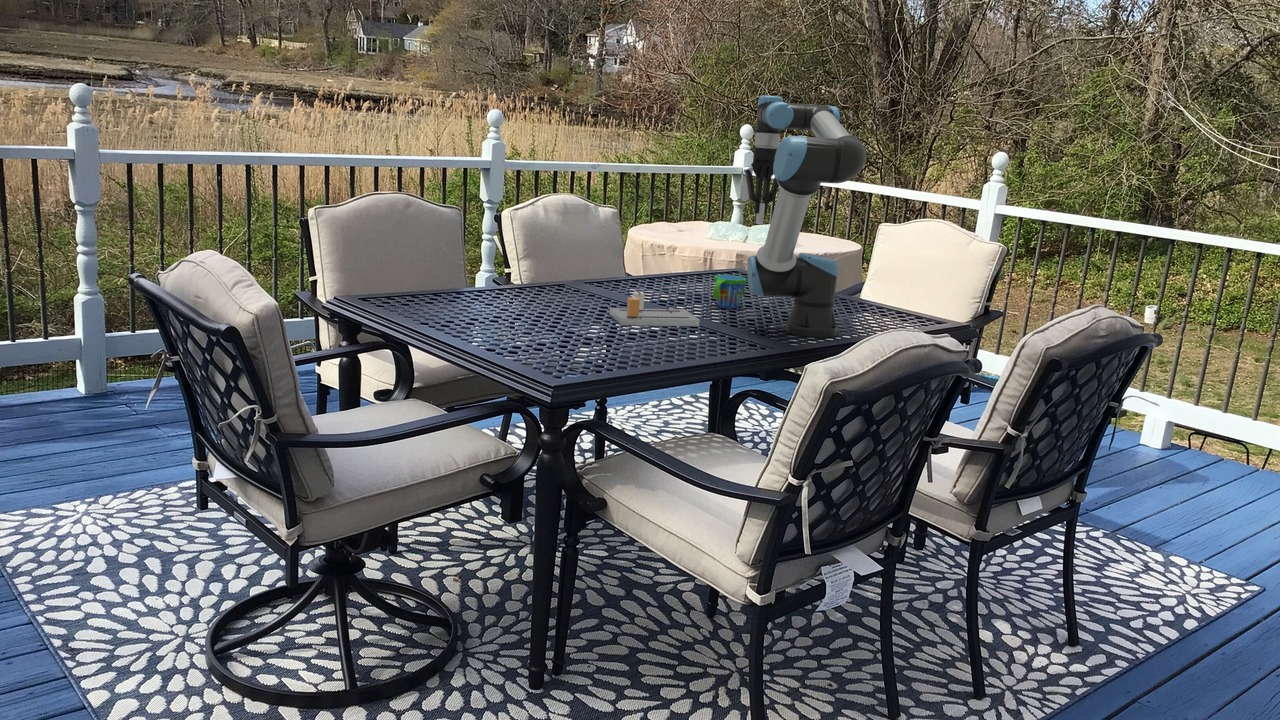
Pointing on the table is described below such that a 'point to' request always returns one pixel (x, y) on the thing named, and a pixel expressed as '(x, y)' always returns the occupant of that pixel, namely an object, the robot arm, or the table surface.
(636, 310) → the block
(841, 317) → the table surface
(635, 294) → the block
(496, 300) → the table surface
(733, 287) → the snack cup
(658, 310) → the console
